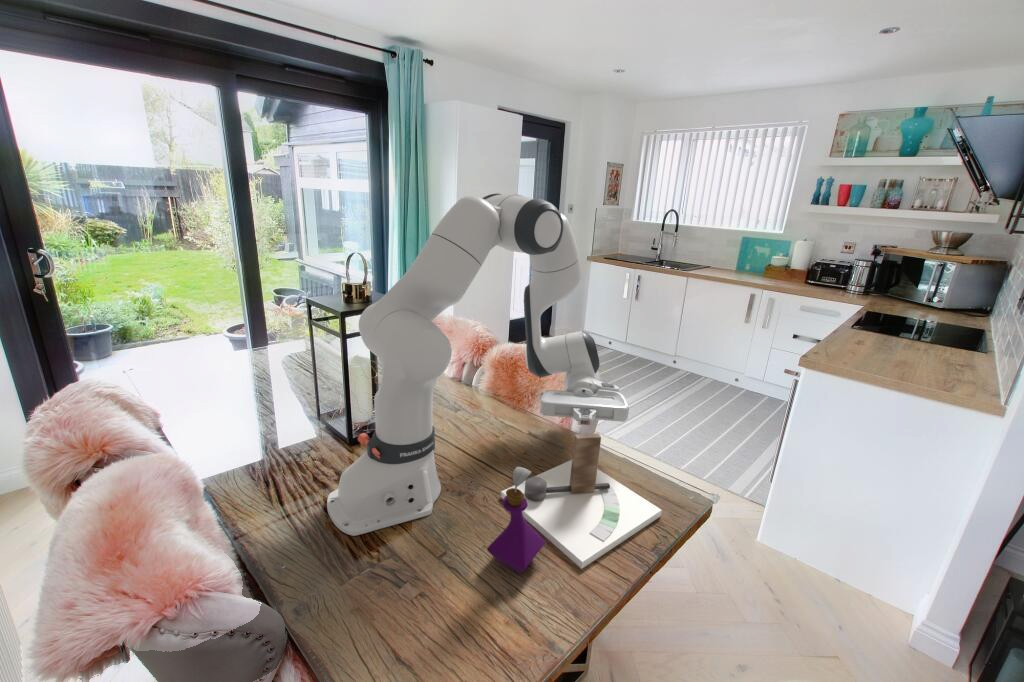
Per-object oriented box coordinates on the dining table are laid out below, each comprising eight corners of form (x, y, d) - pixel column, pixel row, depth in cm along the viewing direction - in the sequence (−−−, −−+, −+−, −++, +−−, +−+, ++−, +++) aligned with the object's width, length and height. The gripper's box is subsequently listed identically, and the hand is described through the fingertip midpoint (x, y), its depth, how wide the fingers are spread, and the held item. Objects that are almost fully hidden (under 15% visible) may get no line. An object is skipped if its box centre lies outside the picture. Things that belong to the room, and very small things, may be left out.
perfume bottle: (523, 585, 73) (530, 491, 67) (485, 564, 76) (488, 474, 71) (545, 556, 79) (552, 468, 73) (509, 538, 83) (513, 453, 77)
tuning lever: (526, 501, 90) (531, 444, 86) (522, 488, 94) (526, 433, 90) (612, 495, 93) (620, 440, 89) (604, 482, 97) (611, 429, 93)
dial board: (581, 568, 77) (582, 560, 76) (500, 497, 93) (501, 490, 93) (660, 516, 90) (662, 509, 90) (577, 462, 107) (578, 455, 107)
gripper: (540, 380, 111) (538, 405, 98) (625, 386, 109) (633, 412, 96) (539, 403, 113) (536, 431, 100) (622, 409, 111) (630, 438, 98)
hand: (585, 422), depth 98 cm, fingers closed
